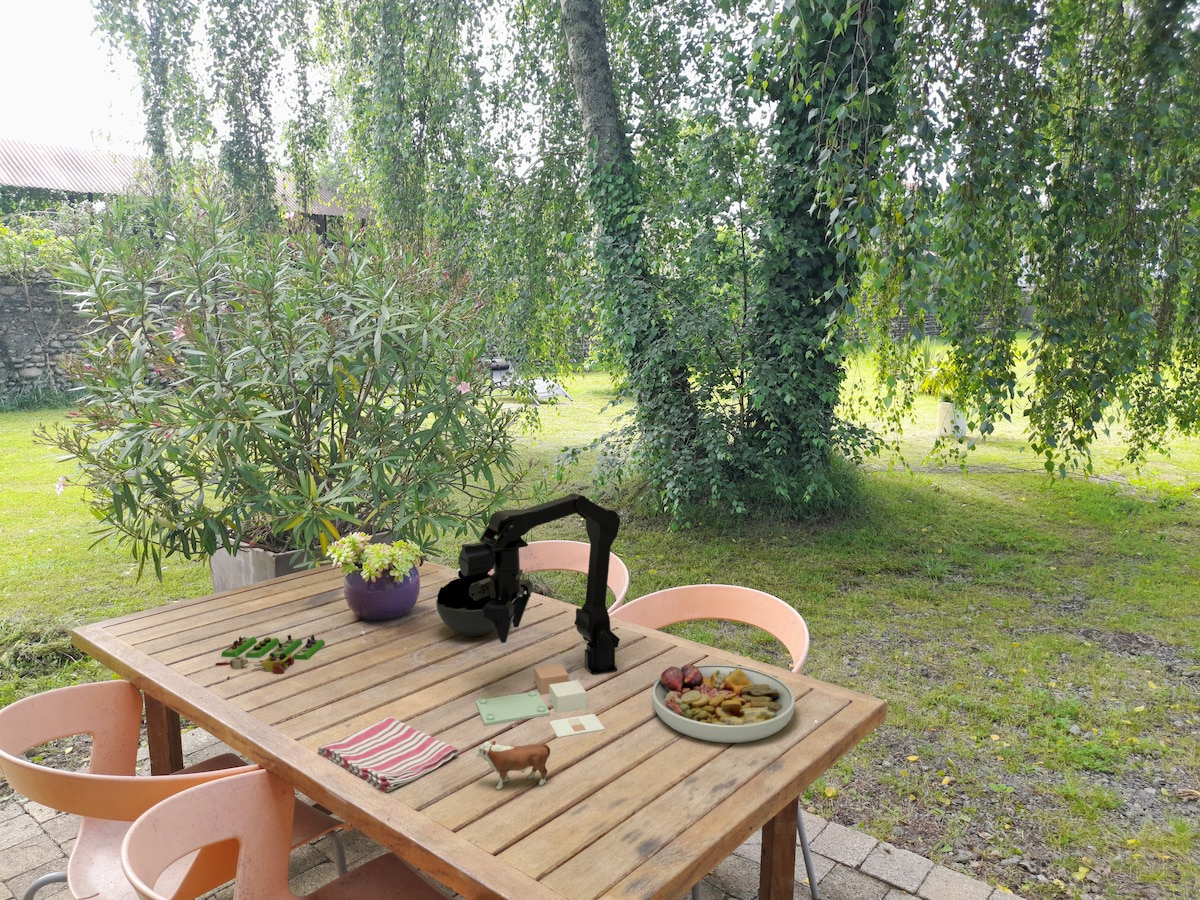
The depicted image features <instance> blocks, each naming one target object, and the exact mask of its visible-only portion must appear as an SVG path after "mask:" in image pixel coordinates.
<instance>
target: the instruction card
mask: <svg viewBox="0 0 1200 900" xmlns="http://www.w3.org/2000/svg"><path fill="white" fill-rule="evenodd" d="M548 723H549V724H550V726H551V728H552V730H553V731H554V733H555V735H556V738H557V739H558V738H559V739H560V738H564V737H565V738H566V737H570V736H574V735H575V736H576V735H581V734H588V733H593V732H600V731H605V730H606V728H605V727H604V725H603V724H602V723H601V721H600V720H599V719H598V717H597V716H596V714H595V713H590V714H585V715H579V716H573V717H566V718H562V719H561V718H560V719H555V720H554V719H553V720H548Z"/></svg>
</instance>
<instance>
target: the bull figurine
mask: <svg viewBox="0 0 1200 900" xmlns="http://www.w3.org/2000/svg"><path fill="white" fill-rule="evenodd" d="M475 754H476V757H478V758H480V757H481V758H483V760H484V761H486V762H488V764H489V766H490V768H491V769H492V770H493V771H494V772H495V773H497V774H499V776H498V780H499V781H498V783H497V786H496V787H495V790H496V791H500V790H501V789H503V788H504V784H503V783H507V782H508V781H510V776H509V772H521V773H525V772H526V770H527V769H529V768H531V767H532V769H531V771H530V773H529V774H528V775H527V776H526V778H525V779H526V780H531V779H532V778H535V775H536V773H537V771H538V772H539V774H540V780H539V781H538V787H542V786H544V783H545V784H546V778H547V774H548V769H547V767H546V763H547V760H548V759H549V757H550V755H551V747H550V746H549V745H548V744H546V743H537V744H530V743H529V744H526V745H525V744H524V745H515V746H514V745H502V744H497V743H496V741H495V740H492V741H491V742H490V741H487V740H486V741H485V742H484V743H482V744H481V746H480V747H479V749H478V750H477V751H476V752H475Z"/></svg>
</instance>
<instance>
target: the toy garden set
mask: <svg viewBox="0 0 1200 900" xmlns="http://www.w3.org/2000/svg"><path fill="white" fill-rule="evenodd" d="M277 645H278V647H277V648H276V649H274V648H275V647H276V646H277ZM302 645H303V640H302V639H301V638H292V635H291V634H288V635H287V640H285V641H284V642H283V643H280V639H279V638H277V637H273V638H271V637H269V636H266V637H265V638H264V639H263V640H260V641H259V642H258V640H257V638H256V637H254V636H252V637H246V636H244V637H241V636H239V637H238V640H237V639H236V640H234V641H233V644H232V645H230V646H229V647H227V648H225V649H224V650H223V651H222V652H221V658H232V659H231V660H230V662H227V661H224V662H221V661H220V662H217V663H215V665H216V666H230V667H231V668H232V670H234V671H235V670H236V671H237V670H241V669H243V668H244V667H245V665H247V664H253V667H263V668H264V669H265V670H266V671H267V672H268V673H273V675H282V674H284V673H285V670H286V669H288V668H289V666H293V665H294V664H295V660H301V661H302V660H304V661H305V660H307V661H308V660H309V659H310V658H312V657H313V656H314V655H315V654H316V653H317V652H319V651H320V650H321V649H322V648H323V647H324V646H325V645H326V643H325V640H324V639H322V638H320V639H316V638H315V635H314V634H312V635H311V636H310V638H307V640H306V644H305V645H304V646H302ZM301 646H302V647H301ZM251 647H253V648H252V649H250V648H251ZM299 647H300V648H299ZM298 648H299V650H297V649H298ZM272 649H274V650H273V651H272V652H270V651H271V650H272ZM247 650H249V651H247ZM296 650H297V651H296ZM294 651H296V652H295V653H294V654H293V652H294ZM245 652H246V653H245ZM243 653H245V656H244V657H245V659H244V657H243V656H240V655H242V654H243ZM268 653H269V655H268V657H267V658H265V659H261V658H262V657H263V656H265V655H266V654H268ZM246 658H247V659H246ZM248 658H251V659H261V660H259V661H255V662H252V661H251V662H250V661H249V660H248Z"/></svg>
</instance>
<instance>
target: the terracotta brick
mask: <svg viewBox="0 0 1200 900" xmlns="http://www.w3.org/2000/svg"><path fill="white" fill-rule="evenodd" d="M533 668H534V669H533V671H534V672H533V673H534V684H535V687H536V689H537V690H538V693H539V695H540V696H542V695H549V685H550V684H556V683H562V682H569V680H570V679H569V678H570V675H569V673H568V672H567V670H566V669H565V667H564V666H563V664H562V663H559V664H552V665H549V664H548V665H543V666H535V667H533Z"/></svg>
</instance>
